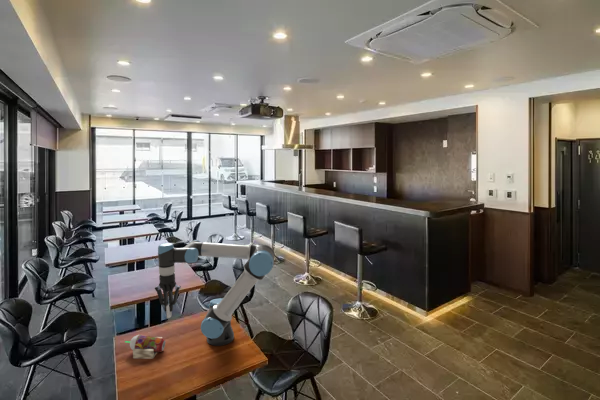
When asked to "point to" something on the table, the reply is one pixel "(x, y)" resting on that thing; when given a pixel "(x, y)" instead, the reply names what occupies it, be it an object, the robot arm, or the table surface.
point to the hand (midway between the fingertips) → (169, 316)
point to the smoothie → (147, 343)
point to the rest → (144, 353)
